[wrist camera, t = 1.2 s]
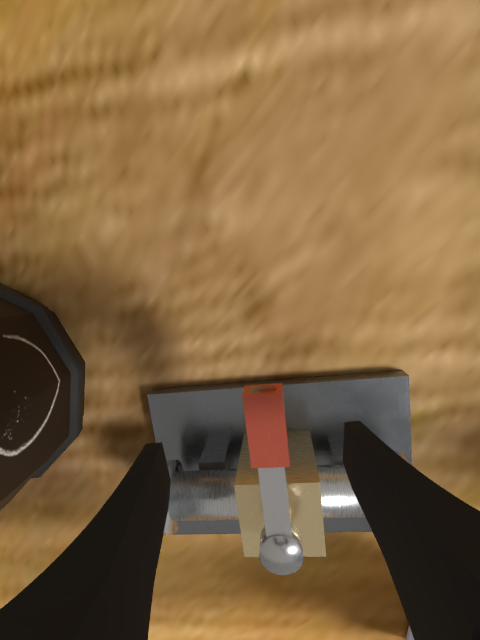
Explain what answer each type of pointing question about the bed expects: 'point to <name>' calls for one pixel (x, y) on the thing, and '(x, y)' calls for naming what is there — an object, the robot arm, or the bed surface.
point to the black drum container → (35, 391)
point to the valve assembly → (304, 451)
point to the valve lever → (272, 476)
